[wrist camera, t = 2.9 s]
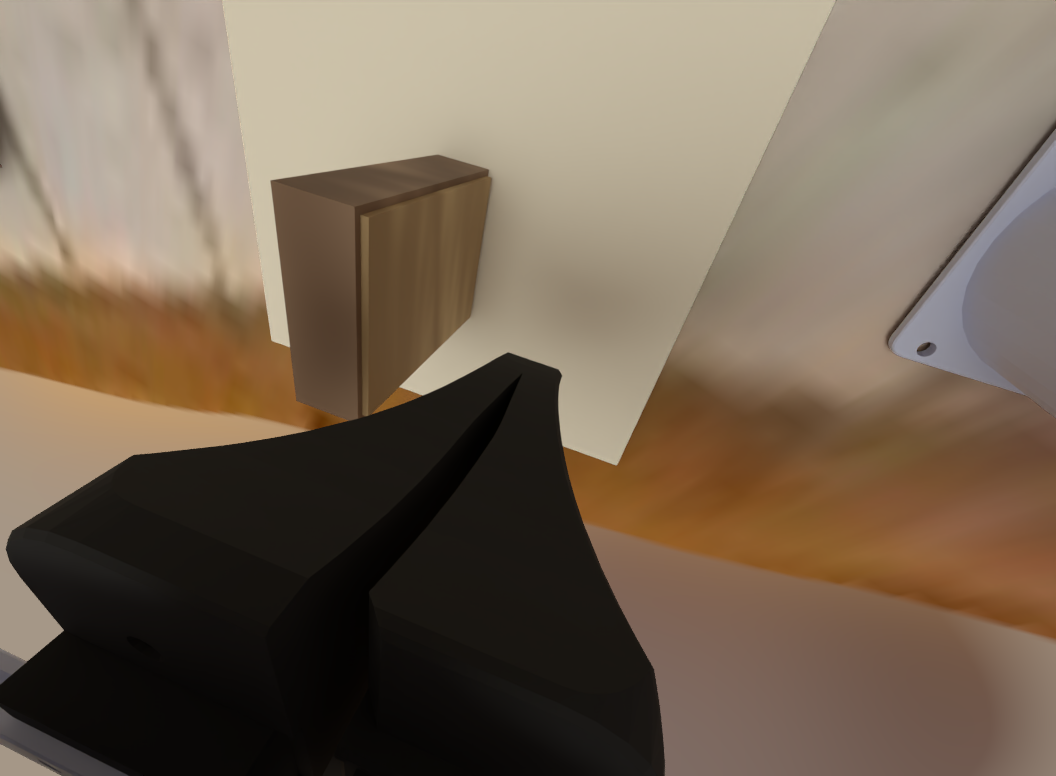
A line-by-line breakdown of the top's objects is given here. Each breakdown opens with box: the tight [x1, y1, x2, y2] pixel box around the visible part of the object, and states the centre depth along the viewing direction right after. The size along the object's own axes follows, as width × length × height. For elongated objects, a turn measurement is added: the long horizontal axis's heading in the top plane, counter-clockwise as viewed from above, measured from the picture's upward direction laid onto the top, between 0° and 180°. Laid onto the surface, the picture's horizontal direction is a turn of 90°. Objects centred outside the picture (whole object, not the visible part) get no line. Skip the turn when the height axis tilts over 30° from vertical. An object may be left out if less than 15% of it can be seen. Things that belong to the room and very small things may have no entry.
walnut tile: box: [270, 155, 491, 421], centre depth 14 cm, size 2×6×8 cm, turn 167°
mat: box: [222, 0, 836, 465], centre depth 17 cm, size 19×18×1 cm
